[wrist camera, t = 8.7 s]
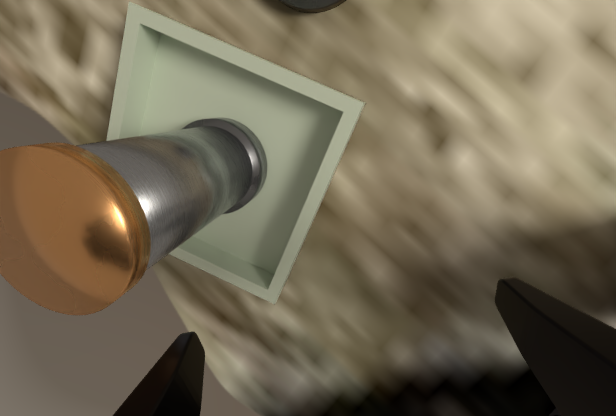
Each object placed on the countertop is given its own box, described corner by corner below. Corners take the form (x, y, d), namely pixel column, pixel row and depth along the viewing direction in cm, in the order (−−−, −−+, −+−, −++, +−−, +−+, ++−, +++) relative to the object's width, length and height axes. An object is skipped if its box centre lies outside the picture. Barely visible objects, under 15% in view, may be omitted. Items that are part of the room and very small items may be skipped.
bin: (365, 102, 19) (364, 103, 17) (284, 284, 24) (274, 304, 22) (158, 12, 20) (129, 1, 18) (120, 207, 25) (93, 218, 22)
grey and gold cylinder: (265, 118, 20) (115, 142, 8) (269, 209, 22) (148, 331, 10) (178, 116, 21) (-61, 137, 9) (188, 204, 23) (-3, 309, 11)
